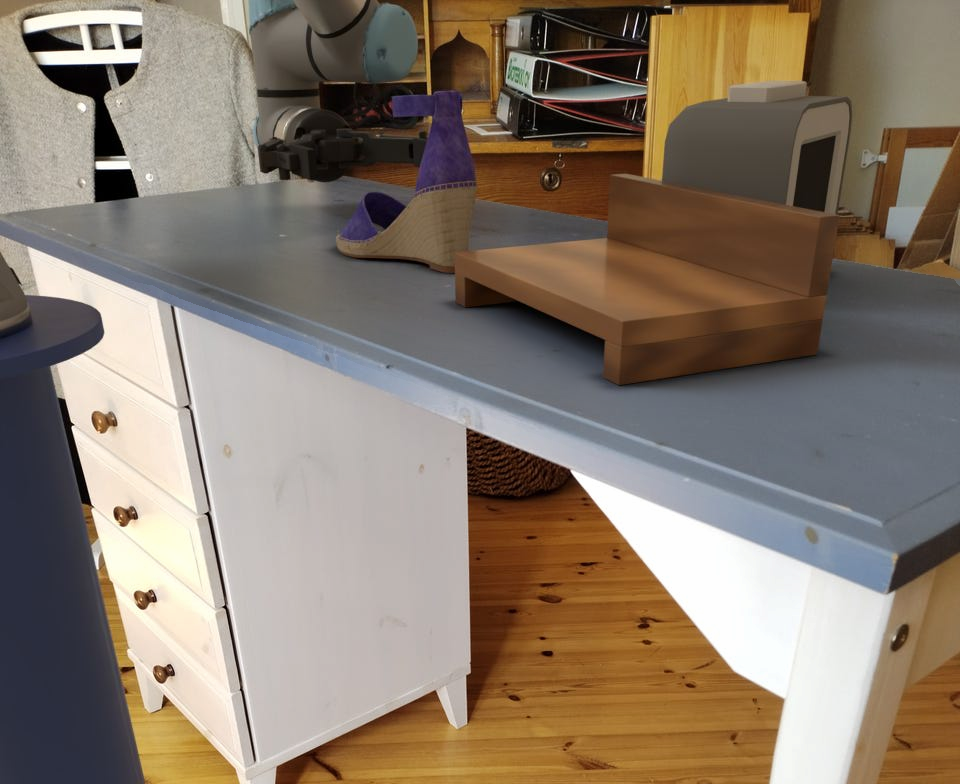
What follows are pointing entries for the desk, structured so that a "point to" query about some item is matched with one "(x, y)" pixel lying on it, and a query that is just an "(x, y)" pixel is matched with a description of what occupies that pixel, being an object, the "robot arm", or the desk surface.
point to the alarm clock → (763, 145)
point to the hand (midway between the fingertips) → (378, 161)
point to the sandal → (422, 195)
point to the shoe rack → (674, 280)
